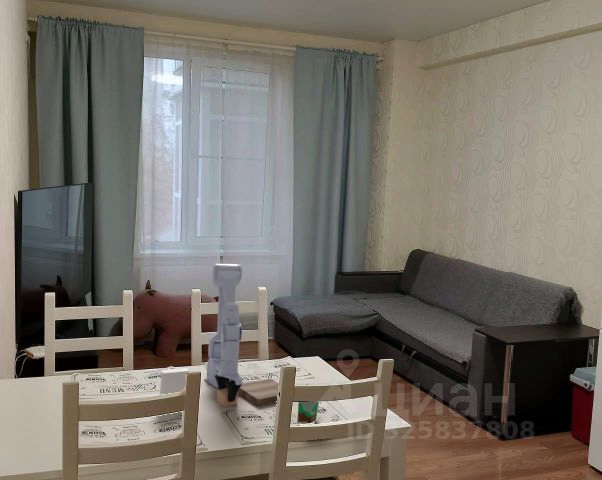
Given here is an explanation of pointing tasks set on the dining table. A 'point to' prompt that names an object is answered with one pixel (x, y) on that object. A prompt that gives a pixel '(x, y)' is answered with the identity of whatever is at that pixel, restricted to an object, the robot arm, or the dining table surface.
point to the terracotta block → (225, 397)
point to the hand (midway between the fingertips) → (227, 398)
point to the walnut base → (260, 392)
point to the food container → (307, 411)
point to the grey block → (173, 380)
